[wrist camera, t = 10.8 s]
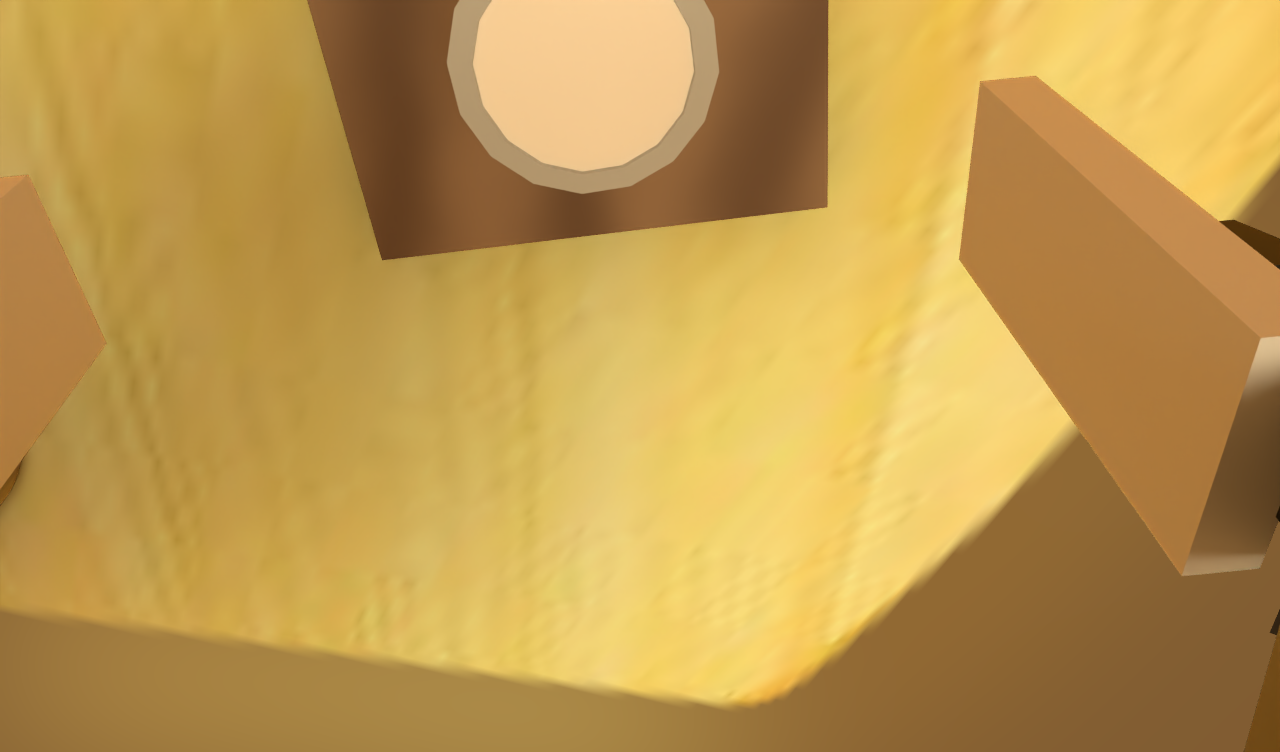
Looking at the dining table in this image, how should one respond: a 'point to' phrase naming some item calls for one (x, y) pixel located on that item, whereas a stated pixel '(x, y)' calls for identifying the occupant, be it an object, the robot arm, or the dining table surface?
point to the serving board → (525, 212)
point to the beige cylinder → (583, 85)
